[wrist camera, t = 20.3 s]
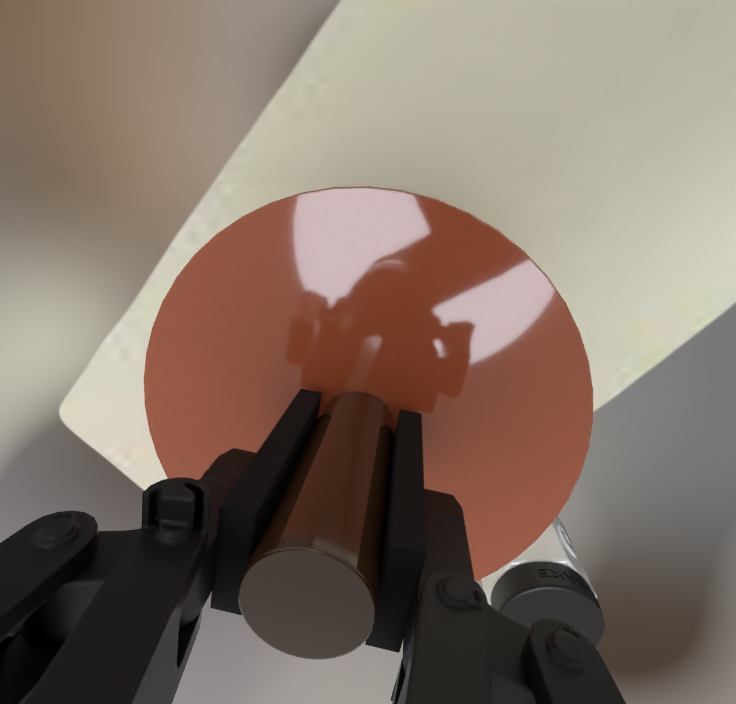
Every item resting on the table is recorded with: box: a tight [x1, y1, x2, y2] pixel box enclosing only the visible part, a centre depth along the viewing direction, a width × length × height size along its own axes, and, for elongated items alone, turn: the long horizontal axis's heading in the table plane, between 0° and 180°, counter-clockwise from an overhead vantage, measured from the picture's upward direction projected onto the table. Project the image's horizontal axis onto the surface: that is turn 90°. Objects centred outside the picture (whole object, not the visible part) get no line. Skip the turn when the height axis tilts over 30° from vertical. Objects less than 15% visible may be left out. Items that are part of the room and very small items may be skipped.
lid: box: [144, 187, 593, 659], centre depth 13 cm, size 17×17×9 cm
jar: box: [481, 517, 605, 648], centre depth 38 cm, size 9×8×12 cm
